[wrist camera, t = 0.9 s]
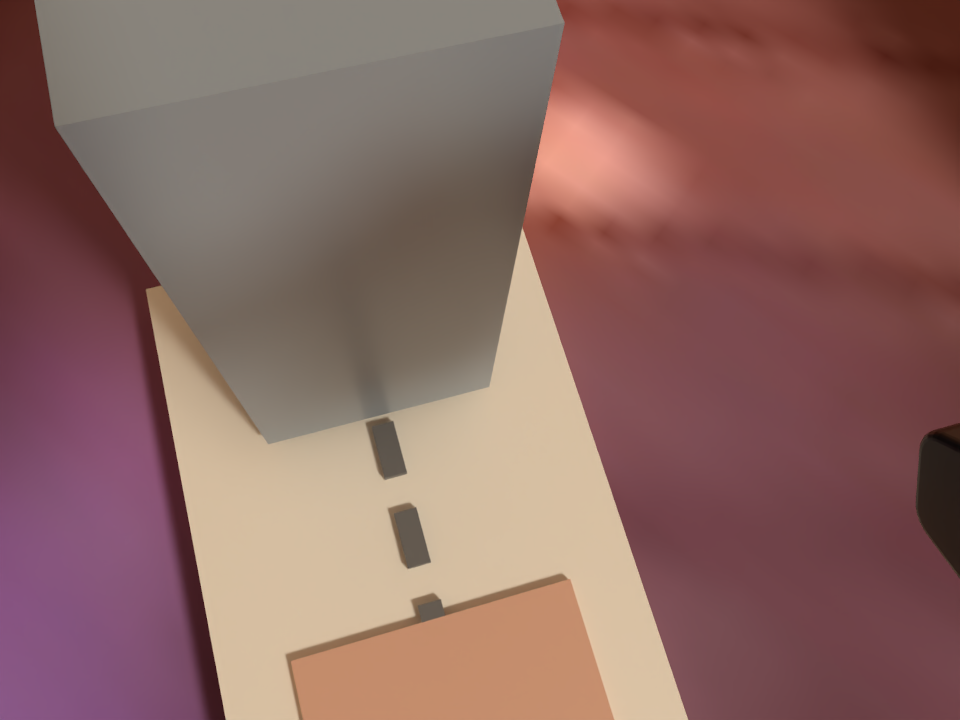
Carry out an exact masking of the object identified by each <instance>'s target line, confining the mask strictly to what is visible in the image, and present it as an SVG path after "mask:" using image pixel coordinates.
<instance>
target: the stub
mask: <svg viewBox="0 0 960 720" xmlns="http://www.w3.org/2000/svg"><path fill="white" fill-rule="evenodd" d="M34 2H35V8H36V14H37V20H38V27H39V33H40V39H41V45H42V51H43V57H44V64H45V70H46V76H47V82H48V88H49V95H50V101H51V107H52V113H53V119H54V126H55V128H56V129H57V131H58V132H59V134H60V135H61V137H62V138H63V140H64V141H65V143H66V144H67V146H68V147H69V149H70V150H71V152H72V153H73V155H74V156H75V158H76V159H77V161H78V162H79V164H80V165H81V167H82V168H83V170H84V171H85V173H86V174H87V176H88V177H89V179H90V180H91V182H92V183H93V184H94V186H95V187H96V189H97V190H98V192H99V193H100V195H101V196H102V198H103V199H104V201H105V202H106V204H107V205H108V207H109V208H110V210H111V211H112V213H113V214H114V216H115V217H116V219H117V220H118V222H119V223H120V225H121V226H122V228H123V229H124V231H125V232H126V234H127V235H128V237H129V238H130V239H131V241H132V242H133V244H134V245H135V247H136V248H137V250H138V251H139V253H140V254H141V256H142V257H143V259H144V260H145V262H146V263H147V265H148V266H149V268H150V269H151V271H152V272H153V274H154V275H155V277H156V278H157V280H158V281H159V283H160V284H161V286H162V287H163V289H164V290H165V292H166V293H167V294H168V296H169V297H170V299H171V300H172V302H173V303H174V305H175V306H176V308H177V309H178V311H179V312H180V314H181V315H182V317H183V318H184V320H185V321H186V323H187V324H188V326H189V327H190V329H191V330H192V332H193V333H194V335H195V336H196V338H197V339H198V341H199V342H200V344H201V345H202V347H203V348H204V349H205V351H206V352H207V354H208V355H209V357H210V358H211V360H212V361H213V363H214V364H215V366H216V367H217V369H218V370H219V372H220V373H221V375H222V376H223V378H224V379H225V381H226V382H227V384H228V385H229V387H230V388H231V390H232V391H233V393H234V394H235V396H236V397H237V399H238V400H239V401H240V403H241V404H242V406H243V407H244V409H245V410H246V412H247V413H248V415H249V416H250V418H251V419H252V421H253V422H254V424H255V425H256V427H257V428H258V430H259V431H260V433H261V434H262V436H263V437H264V439H265V440H266V442H267V443H268V444H271V443H275V442H279V441H283V440H287V439H291V438H295V437H298V436H302V435H306V434H310V433H314V432H318V431H321V430H325V429H329V428H333V427H337V426H341V425H345V424H348V423H352V422H356V421H360V420H364V419H368V418H372V417H375V416H379V415H383V414H387V413H391V412H395V411H398V410H402V409H406V408H410V407H414V406H418V405H422V404H425V403H429V402H433V401H437V400H441V399H445V398H448V397H452V396H456V395H460V394H464V393H468V392H472V391H475V390H479V389H483V388H487V387H489V386H490V381H491V376H492V371H493V366H494V362H495V357H496V352H497V347H498V342H499V337H500V333H501V328H502V323H503V318H504V313H505V308H506V304H507V299H508V294H509V289H510V284H511V279H512V274H513V270H514V265H515V260H516V255H517V250H518V245H519V241H520V236H521V231H522V226H523V221H524V216H525V212H526V207H527V202H528V197H529V192H530V187H531V183H532V178H533V173H534V168H535V163H536V158H537V154H538V149H539V144H540V139H541V134H542V129H543V125H544V120H545V115H546V110H547V105H548V100H549V95H550V91H551V86H552V81H553V76H554V71H555V66H556V62H557V57H558V52H559V47H560V42H561V37H562V33H563V28H564V20H563V18H562V15H561V13H560V10H559V7H558V5H557V2H556V0H34Z"/></svg>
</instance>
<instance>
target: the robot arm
mask: <svg viewBox="0 0 960 720" xmlns="http://www.w3.org/2000/svg"><path fill="white" fill-rule="evenodd" d="M916 510H917V515H918V518H919V521H920V523H921V525H922V527H923V529H924V530H925V532H926V534H927V535H928V536H929V538H930V539H931V540H932V542H933V543H934V544H935V546H936V547H937V548H938V550H939V551H940V552H941V554H942V555H943V557H944V558H945V559H946V561H947V562H948V563H949V565H950V566H951V567H952V569H953V570H954V571H955V573H956V574H957V575H958V577H959V578H960V423H958V424H954V425H951V426H947V427H944V428H940V429H937V430H933V431H931V432H929V433H928V434H926V435H925V436H924V438H923V440H922V441H921V444H920V450H919V464H918V478H917V492H916Z"/></svg>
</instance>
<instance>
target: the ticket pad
mask: <svg viewBox="0 0 960 720" xmlns="http://www.w3.org/2000/svg"><path fill="white" fill-rule="evenodd" d="M146 293H147V299H148V304H149V310H150V315H151V320H152V326H153V331H154V336H155V342H156V347H157V353H158V358H159V363H160V369H161V374H162V379H163V385H164V390H165V396H166V401H167V406H168V412H169V417H170V422H171V428H172V433H173V439H174V444H175V449H176V455H177V460H178V465H179V471H180V476H181V482H182V487H183V492H184V498H185V503H186V508H187V514H188V519H189V525H190V530H191V535H192V541H193V546H194V551H195V557H196V562H197V567H198V573H199V578H200V584H201V589H202V594H203V600H204V605H205V610H206V616H207V621H208V627H209V632H210V637H211V643H212V648H213V653H214V659H215V664H216V670H217V675H218V680H219V686H220V691H221V696H222V702H223V707H224V713H225V718H226V720H688V718H687V716H686V713H685V710H684V707H683V704H682V701H681V698H680V695H679V692H678V689H677V686H676V683H675V680H674V677H673V674H672V671H671V668H670V665H669V662H668V659H667V656H666V653H665V650H664V647H663V644H662V641H661V638H660V635H659V632H658V629H657V626H656V623H655V620H654V617H653V614H652V612H651V609H650V606H649V603H648V600H647V597H646V594H645V591H644V588H643V585H642V582H641V579H640V576H639V573H638V570H637V567H636V564H635V561H634V558H633V555H632V552H631V549H630V546H629V543H628V540H627V537H626V534H625V531H624V528H623V525H622V522H621V519H620V516H619V513H618V510H617V507H616V505H615V502H614V499H613V496H612V493H611V490H610V487H609V484H608V481H607V478H606V475H605V472H604V469H603V466H602V463H601V460H600V457H599V454H598V451H597V448H596V445H595V442H594V439H593V436H592V433H591V430H590V427H589V424H588V421H587V418H586V415H585V412H584V409H583V406H582V403H581V401H580V398H579V395H578V392H577V389H576V386H575V383H574V380H573V377H572V374H571V371H570V368H569V365H568V362H567V359H566V356H565V353H564V350H563V347H562V344H561V341H560V338H559V335H558V332H557V329H556V326H555V323H554V320H553V317H552V314H551V311H550V308H549V305H548V302H547V299H546V297H545V294H544V291H543V288H542V285H541V282H540V279H539V276H538V273H537V270H536V267H535V264H534V261H533V258H532V255H531V252H530V249H529V246H528V243H527V240H526V237H525V234H524V231H523V228H522V231H521V236H520V241H519V245H518V250H517V255H516V260H515V265H514V270H513V274H512V279H511V284H510V289H509V294H508V299H507V304H506V308H505V313H504V318H503V323H502V328H501V333H500V337H499V342H498V347H497V352H496V357H495V362H494V366H493V371H492V376H491V381H490V386H489V387H487V388H483V389H479V390H475V391H472V392H468V393H464V394H460V395H456V396H452V397H448V398H445V399H441V400H437V401H433V402H429V403H425V404H422V405H418V406H414V407H410V408H406V409H402V410H398V411H395V412H391V413H387V414H383V415H379V416H375V417H372V418H368V419H364V420H360V421H356V422H352V423H348V424H345V425H341V426H337V427H333V428H329V429H325V430H321V431H318V432H314V433H310V434H306V435H302V436H298V437H295V438H291V439H287V440H283V441H279V442H275V443H271V444H268V443H267V442H266V440H265V439H264V437H263V436H262V434H261V433H260V431H259V430H258V428H257V427H256V425H255V424H254V422H253V421H252V419H251V418H250V416H249V415H248V413H247V412H246V410H245V409H244V407H243V406H242V404H241V403H240V401H239V400H238V399H237V397H236V396H235V394H234V393H233V391H232V390H231V388H230V387H229V385H228V384H227V382H226V381H225V379H224V378H223V376H222V375H221V373H220V372H219V370H218V369H217V367H216V366H215V364H214V363H213V361H212V360H211V358H210V357H209V355H208V354H207V352H206V351H205V349H204V348H203V347H202V345H201V344H200V342H199V341H198V339H197V338H196V336H195V335H194V333H193V332H192V330H191V329H190V327H189V326H188V324H187V323H186V321H185V320H184V318H183V317H182V315H181V314H180V312H179V311H178V309H177V308H176V306H175V305H174V303H173V302H172V300H171V299H170V297H169V296H168V294H167V293H166V292H165V290H164V289H163V287H162V286H157V287H153V288H149V289H146Z"/></svg>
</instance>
